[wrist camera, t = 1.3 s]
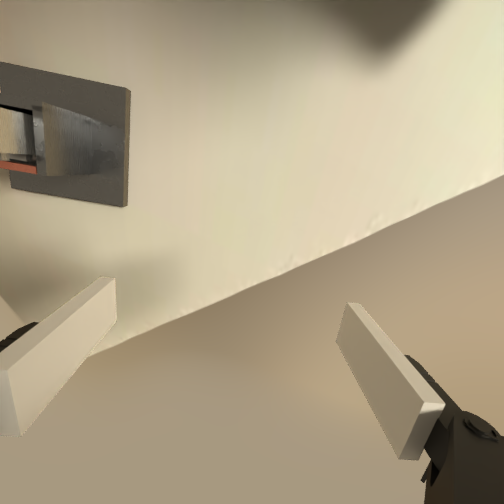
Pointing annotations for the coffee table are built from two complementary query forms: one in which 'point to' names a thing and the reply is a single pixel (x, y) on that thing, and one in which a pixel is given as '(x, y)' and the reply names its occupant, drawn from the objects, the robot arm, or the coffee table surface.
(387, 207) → the coffee table surface
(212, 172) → the coffee table surface
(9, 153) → the column
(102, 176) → the stand base
